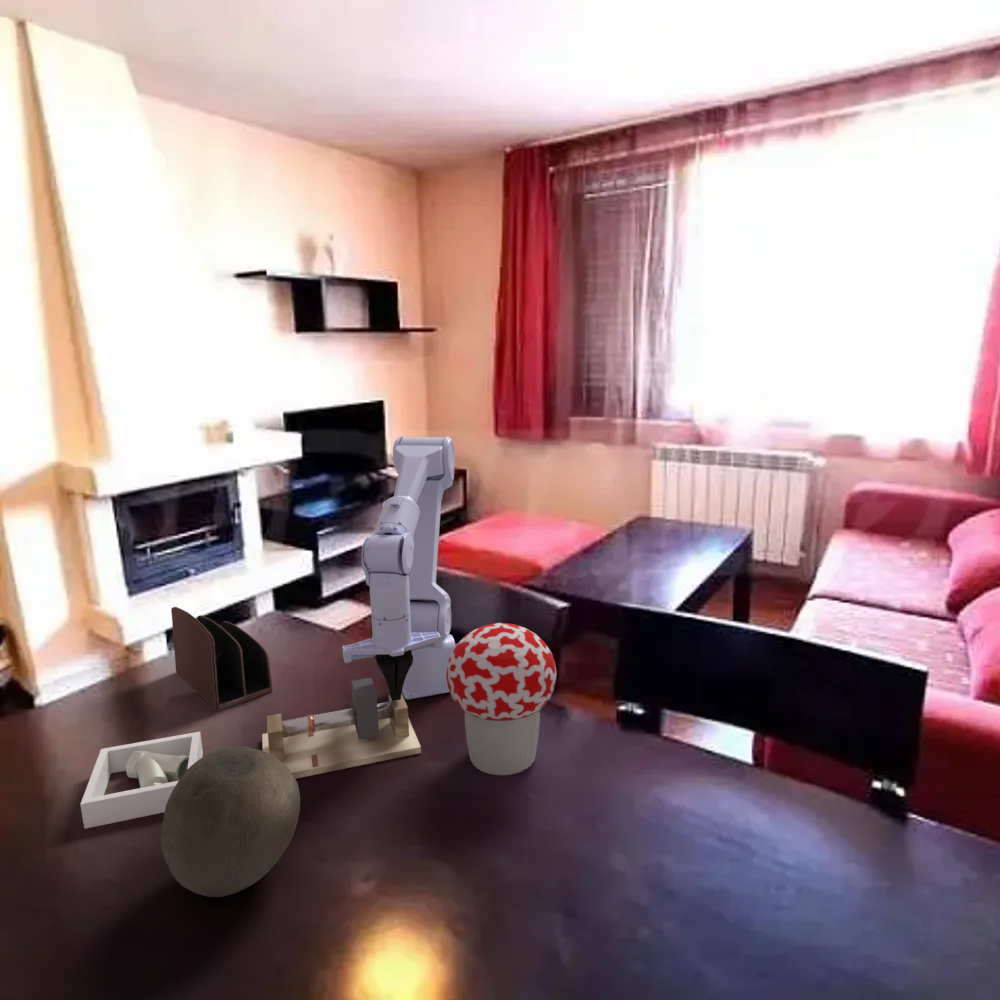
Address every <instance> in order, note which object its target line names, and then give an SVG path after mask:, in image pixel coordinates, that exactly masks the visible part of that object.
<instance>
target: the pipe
mask: <svg viewBox="0 0 1000 1000" xmlns="http://www.w3.org/2000/svg"><path fill="white" fill-rule="evenodd" d="M377 707H378V720H382V719H388V718H393V706H392V702H391V701H390V702H389V701H386V702H381V703H380V702H379V703H377ZM355 724H357V715H356V709H355V708H353V707H351V708H346V709H341V710H336V711H335V710H334V711H328V712H323V713H318V714H308V715H305V716H300V717H295V718H290V719H284V720H282V730H283V738H285V737H291V736H296V735H302V734H307V733H309V734H311V733H315V732H318V731H323V730H328V729H334V728H339V727H345V726H350V725H355Z"/></svg>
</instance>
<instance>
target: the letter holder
mask: <svg viewBox="0 0 1000 1000" xmlns="http://www.w3.org/2000/svg"><path fill="white" fill-rule="evenodd" d="M170 613H171V623H172V624H171V625H172V642H173V649H174V652H173V653H174V659H175V660H174V661H175V662H174V663H175V672H176V674H177V675H179V676H180V677H181V678H182V679H183V680H184V681H185V682H187V683H188V685H189V686H190V687H191V688H192V689H193V690H194V691H195V692H196V693H197V694H198V695H199V696H200V697H201V698H203V700H204V701H205V702H206V703H208V704H209V705H210V706H211V707H212V709H214V711H216V712H219V711H222V710H225V709H229V708H230V707H233V706H237V705H238V704H242V703H245V702H248V701H250V700H252V699H253V698H254V699H256V698H259V697H262V696H264V694H265V695H267V694H266V693H268V694H270V693H272V692H273V682H272V680H273V679H272V674H271V668H270V659H269V654H268V652H267V650H266V649H265V648H264V647H263V645H262V644H261V643H260V642H259V641H257V640H256V639H255V638H254V637H253V636H251V634H249V633H247V632H246V631H245V630H243V629H242V628H241V627H239V626H237V625H236V624H234V623H232V622H230V621H227V620H224V621H222V622H221V625H220V624H218V623H217V622H216V621H214V620H213V619H211V618H209V617H207V616H204V615H202V614H201V615H198V616H197V617H195V616H193V615H192V614H191V613H189V612H188V611H186V610H184V609H182V608H180V607H177V606H173V607H171V612H170ZM269 692H270V693H269ZM261 695H262V696H261Z"/></svg>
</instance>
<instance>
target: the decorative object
mask: <svg viewBox="0 0 1000 1000" xmlns="http://www.w3.org/2000/svg"><path fill="white" fill-rule="evenodd" d="M455 645H456V646H455V648H454V650H453V651H452V653H451V655H450V658H449V661H448V664H447V676H446V678H447V685H448V688H449V691H450V692H449V693H450V695H451V698H452V700H453V701H454V703H456V704H457V706H458V707H459V708H460V709H461V710H462V711H464V727H465V734H466V735H465V736H466V744H467V749H468V754H469V759H470V762H471V763H472V765H473V766H474V767H475V768H476V769H477V770H479V771H481V772H483V773H486V774H489V775H493V776H510V775H516V774H519V773H522V772H524V771H525V769H526V770H527V769H529V768H530V767H531V766H532V765H533V764H534V762H535V760H536V754H537V750H538V749H537V748H538V741H539V731H540V719H541V716H540V714H541V713H540V710H542V708H543V707H544V706H545V705H546V704H547V703H548V702H549V700H551V697H552V695H553V692H554V690H555V688H556V687H555V686H556V681H557V667H556V661H555V659H554V656H553V653H552V651H551V650H550V648H549V646H547V643H546V642H545V641H544V640H543V639H542V638H540V636H538V634H536V633H535V632H533V631H531V630H530V629H528V628H526V627H524V626H521V625H517V624H512V623H509V622H508V623H506V622H497V623H495V622H494V623H490V624H486V625H485V624H484V625H482V626H480V627H478V628H475V629H473V630H472V631H470V632H469V633H466V634H465V635H464V637H462V639H461V640H459V641H458V643H456V644H455ZM532 763H533V764H532ZM528 767H529V768H528ZM523 770H524V771H523Z"/></svg>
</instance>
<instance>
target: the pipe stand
mask: <svg viewBox="0 0 1000 1000" xmlns="http://www.w3.org/2000/svg"><path fill="white" fill-rule="evenodd" d="M405 700H406V699H405V697H404V695H403V693H402V694H401V699H400V700H395V701H392V700H391V698H390V694H388V702H390V701H391V702H392V706H393V718H388V719H382V720H378V724H379V736H374V737H369V738H364V739H359V738H358V735H357V731H356V727H355V725H350V726H345V727H339V728H334V729H328V730H323V731H318V732H315V733H311V734H309V733H307V734H302V735H296V736H291V737H285V738H283V730H282V721H283V720H282V719H283V718H282V713H276V714H271V715H267V716H266V724H267V730H266V731H267V732H266V733H262V734H261V735H262V736H261V738H262V751H264V752H267V753H269V754H270V755H272V756H274V757H276V758H277V759H279V760H280V761H281V762H283V763H284V764H285V765H286V766H287V767H288V769H289V770H290V772H291V773H292V775H293V776H294V778H295V780H296V779H301V778H306V777H311V776H315V775H321V774H326V773H330V772H334V771H340V770H345V769H348V768H349V769H350V768H355V767H359V766H363V765H370V764H374V763H377V762H384V761H388V760H394V759H398V758H403V757H407V756H408V757H409V756H414V755H418V754H421V753H422V747H421V744H420V742H419V739H418V737H417V734H416V731H415V730H414V728H413V726H412V725H413V724H412V723H411V719H410V718H409V707H408V705H407V702H406V701H405Z"/></svg>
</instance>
